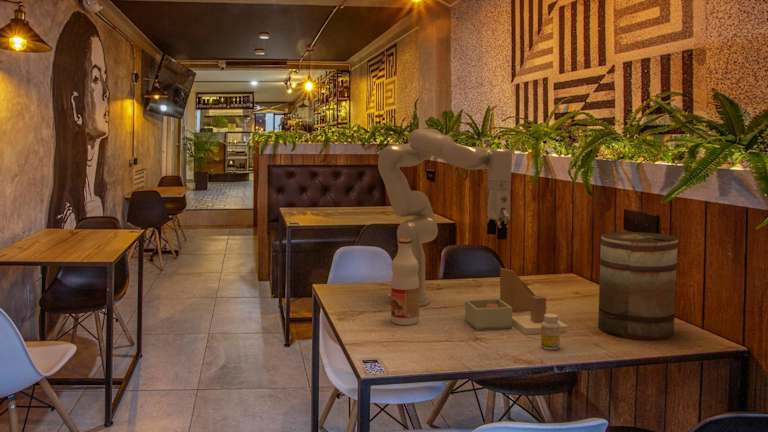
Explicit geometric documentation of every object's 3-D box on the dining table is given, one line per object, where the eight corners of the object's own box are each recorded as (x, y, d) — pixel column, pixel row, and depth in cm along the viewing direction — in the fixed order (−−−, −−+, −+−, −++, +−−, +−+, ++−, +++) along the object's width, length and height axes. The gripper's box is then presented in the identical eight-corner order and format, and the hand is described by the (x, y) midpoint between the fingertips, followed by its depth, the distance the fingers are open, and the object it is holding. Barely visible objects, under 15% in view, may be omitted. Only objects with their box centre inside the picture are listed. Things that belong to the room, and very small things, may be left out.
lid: (525, 334, 200) (526, 303, 199) (509, 322, 214) (510, 293, 213) (567, 332, 203) (568, 301, 201) (548, 320, 216) (549, 291, 215)
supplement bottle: (554, 351, 184) (555, 318, 183) (537, 347, 187) (538, 315, 186) (562, 346, 188) (563, 315, 187) (546, 343, 191) (546, 311, 190)
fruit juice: (419, 325, 211) (419, 241, 208) (391, 325, 211) (390, 241, 208) (418, 317, 220) (418, 237, 217) (391, 318, 220) (390, 237, 217)
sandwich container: (548, 308, 232) (549, 268, 230) (513, 313, 226) (514, 271, 224) (534, 303, 240) (535, 263, 238) (499, 307, 234) (500, 267, 232)
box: (476, 330, 204) (476, 309, 204) (464, 320, 216) (465, 300, 215) (511, 328, 207) (512, 307, 206) (498, 318, 218) (499, 298, 217)
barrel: (679, 326, 208) (683, 235, 204) (667, 345, 189) (671, 244, 186) (607, 316, 220) (610, 230, 217) (589, 333, 201) (592, 238, 198)
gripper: (519, 188, 205) (516, 241, 207) (500, 183, 221) (498, 232, 224) (497, 188, 203) (494, 241, 206) (479, 183, 220) (477, 232, 222)
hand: (496, 236), depth 215 cm, fingers open, 9 cm apart
